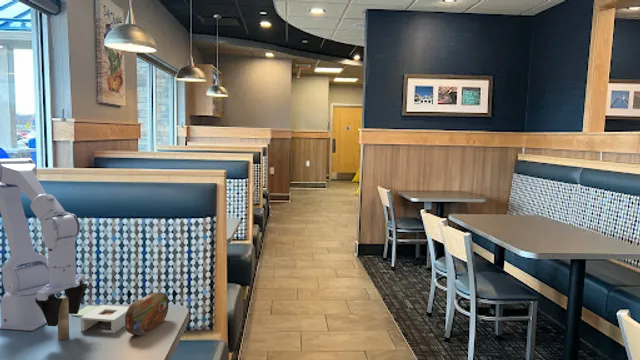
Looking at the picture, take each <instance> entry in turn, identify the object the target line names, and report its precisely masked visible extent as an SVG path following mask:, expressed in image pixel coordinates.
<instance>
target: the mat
mask: <svg viewBox="0 0 640 360" xmlns="http://www.w3.org/2000/svg"><path fill="white" fill-rule="evenodd" d="M99 306H100V305H99ZM99 306H98V305H85V307H83V308H81V309H79V312H78V314H71V316H72V317H79V316H81V317H83V316H84V315H86V314H88V313H89V312H91V311H93V310H94V309H96V308H98V307H99ZM81 317H80V318H81Z"/></svg>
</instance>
